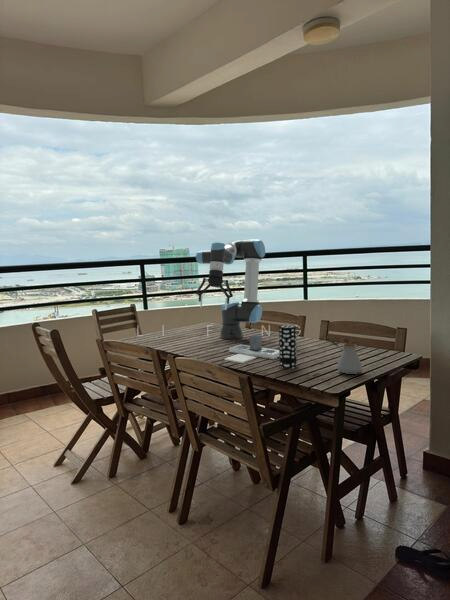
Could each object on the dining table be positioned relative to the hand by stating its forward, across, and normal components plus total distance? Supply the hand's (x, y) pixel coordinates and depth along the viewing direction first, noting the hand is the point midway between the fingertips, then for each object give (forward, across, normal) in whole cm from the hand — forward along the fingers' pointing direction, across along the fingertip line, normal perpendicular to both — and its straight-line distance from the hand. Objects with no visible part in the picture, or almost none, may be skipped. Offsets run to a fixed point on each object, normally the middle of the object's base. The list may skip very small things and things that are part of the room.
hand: (213, 308), depth 228 cm
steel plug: (+23, +26, +4) cm, 35 cm away
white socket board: (+23, +26, +4) cm, 35 cm away
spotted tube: (+27, +37, -24) cm, 52 cm away
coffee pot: (+26, +60, -35) cm, 74 cm away
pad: (+26, +16, -5) cm, 31 cm away
